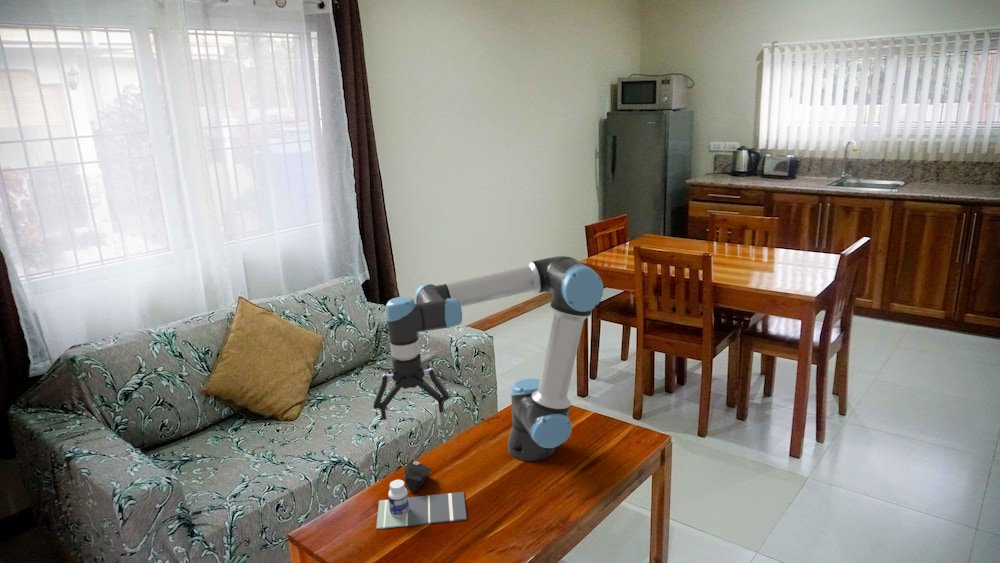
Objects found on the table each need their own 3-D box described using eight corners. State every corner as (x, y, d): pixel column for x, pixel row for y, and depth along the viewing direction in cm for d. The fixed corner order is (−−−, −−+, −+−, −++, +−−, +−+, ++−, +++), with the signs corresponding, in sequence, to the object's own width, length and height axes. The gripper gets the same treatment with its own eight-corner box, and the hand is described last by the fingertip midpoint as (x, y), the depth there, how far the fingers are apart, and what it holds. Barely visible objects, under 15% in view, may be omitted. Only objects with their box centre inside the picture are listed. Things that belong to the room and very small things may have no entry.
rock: (391, 485, 189) (390, 468, 187) (411, 470, 196) (409, 453, 194) (418, 496, 183) (417, 479, 182) (437, 480, 190) (436, 463, 189)
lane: (463, 493, 184) (463, 491, 184) (466, 519, 172) (466, 518, 172) (379, 501, 181) (379, 500, 181) (376, 529, 170) (376, 528, 170)
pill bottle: (388, 508, 177) (385, 480, 175) (407, 503, 179) (404, 476, 177) (392, 519, 173) (389, 491, 170) (411, 514, 174) (408, 486, 172)
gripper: (451, 344, 175) (458, 413, 181) (359, 354, 172) (369, 424, 178) (453, 354, 167) (460, 426, 174) (357, 366, 164) (367, 438, 171)
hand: (414, 425), depth 176 cm, fingers open, 13 cm apart
